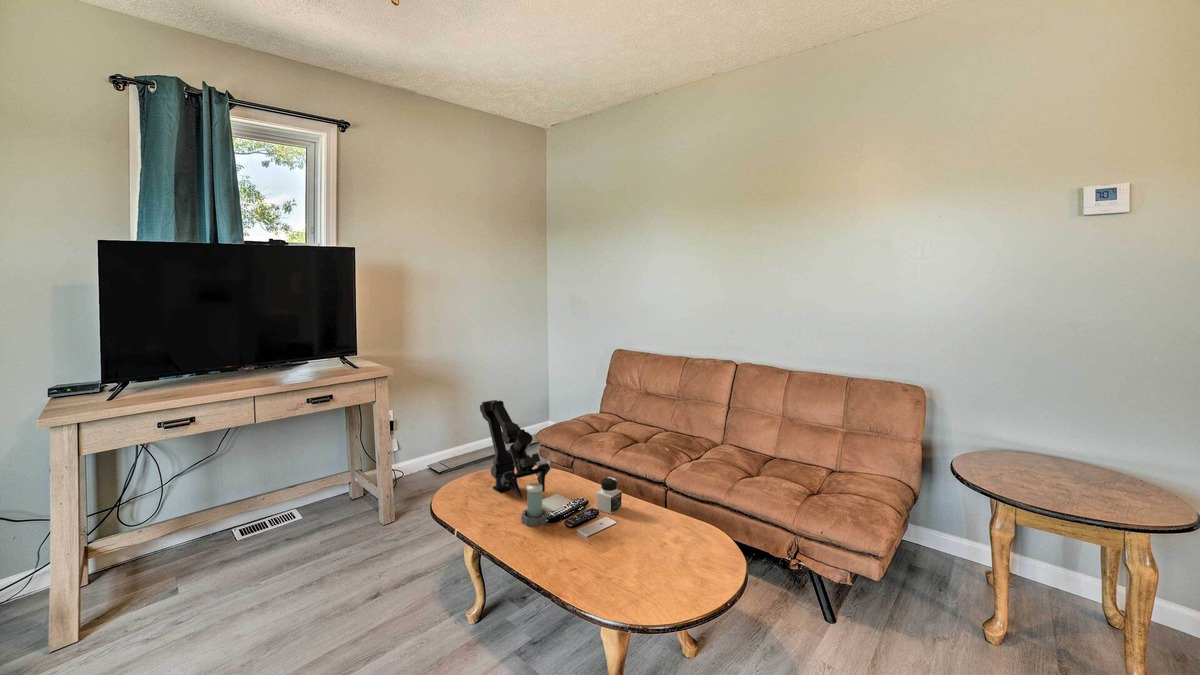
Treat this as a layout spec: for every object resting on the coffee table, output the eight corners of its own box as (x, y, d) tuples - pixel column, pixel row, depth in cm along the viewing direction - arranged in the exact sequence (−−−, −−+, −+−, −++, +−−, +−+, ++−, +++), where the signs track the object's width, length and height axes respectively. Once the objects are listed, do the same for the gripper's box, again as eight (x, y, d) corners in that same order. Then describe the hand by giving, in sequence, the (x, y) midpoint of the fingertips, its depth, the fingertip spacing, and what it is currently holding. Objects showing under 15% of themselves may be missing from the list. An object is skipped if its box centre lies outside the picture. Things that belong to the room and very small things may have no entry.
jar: (524, 519, 182) (523, 486, 180) (536, 514, 186) (536, 481, 184) (533, 525, 178) (532, 491, 176) (545, 519, 181) (545, 486, 180)
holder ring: (517, 519, 182) (516, 512, 181) (537, 510, 188) (537, 504, 188) (532, 528, 175) (532, 522, 175) (553, 519, 181) (552, 513, 181)
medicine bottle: (611, 514, 185) (611, 484, 184) (596, 509, 189) (596, 480, 188) (621, 507, 191) (622, 478, 189) (607, 502, 195) (607, 474, 194)
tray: (537, 504, 193) (537, 501, 193) (557, 496, 200) (557, 493, 200) (563, 518, 182) (563, 515, 182) (583, 510, 189) (583, 507, 189)
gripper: (502, 452, 179) (515, 491, 171) (548, 442, 189) (562, 479, 181) (495, 465, 187) (507, 504, 179) (539, 456, 197) (552, 492, 189)
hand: (532, 494), depth 182 cm, fingers open, 9 cm apart
